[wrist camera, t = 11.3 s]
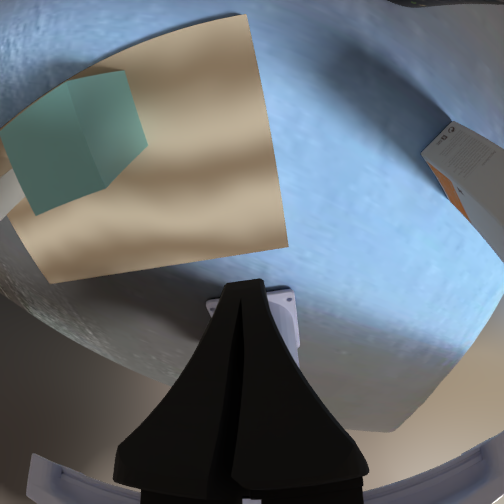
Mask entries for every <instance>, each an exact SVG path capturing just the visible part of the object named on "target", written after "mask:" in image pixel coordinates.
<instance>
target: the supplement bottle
mask: <svg viewBox="0 0 504 504" xmlns="http://www.w3.org/2000/svg"><path fill="white" fill-rule="evenodd" d="M388 1H390V2H392V3H395V4H398V5H401V6H405V7H411V8H420V7H431V6H441V5H455V4H497V5H504V0H388Z"/></svg>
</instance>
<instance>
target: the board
mask: <svg viewBox="0 0 504 504" xmlns="http://www.w3.org/2000/svg"><path fill="white" fill-rule="evenodd" d="M123 70H125V74H126V77H127V81H128V84H129V87H130V91H131V94H132V97H133V100H134V104H135V107H136V110H137V113H138V116H139V119H140V122H141V125H142V128H143V131H144V134H145V137H146V140H147V143H148V146H147V147H146V148H145V149H144V150H143V151H142V152H141V153H140V154H139V155H138V156H137V157H136V158H135V159H134V160H133V161H132V162H131V163H130V164H129V165H128V166H127V167H126V168H125V169H124V170H123V171H122V172H121V173H120V174H119V175H118V176H117V177H116V178H115V179H114V180H113V181H112V183H111V184H110V185H109V186H108V187H107V188H106V189H103V190H100V191H98V192H95V193H92V194H89V195H87V196H84V197H81V198H79V199H76V200H73V201H71V202H68V203H66V204H63V205H61V206H58V207H56V208H54V209H51V210H49V211H47V212H44V213H42V214H40V215H37V216H35V214H34V212H33V210H32V208H31V206H30V204H29V202H28V200H27V198H26V196H25V197H24V198H23V199H22V200H21V201H20V202H19V203H18V204H17V205H16V206H15V207H14V208H13V209H12V210H11V211H10V212H9V213H8V214H7V216H8V218H9V220H10V221H11V223H12V225H13V227H14V229H15V230H16V232H17V234H18V236H19V237H20V239H21V241H22V242H23V244H24V246H25V247H26V249H27V251H28V252H29V254H30V255H31V257H32V258H33V260H34V261H35V263H36V264H37V266H38V267H39V269H40V270H41V272H42V273H43V275H44V276H45V277H46V279H47V280H48V282H49V283H50V284H53V283H60V282H66V281H73V280H79V279H86V278H92V277H99V276H105V275H112V274H118V273H125V272H131V271H137V270H144V269H150V268H157V267H163V266H170V265H176V264H183V263H189V262H195V261H202V260H208V259H215V258H221V257H228V256H234V255H240V254H247V253H253V252H260V251H266V250H272V249H279V248H285V247H288V240H287V232H286V225H285V218H284V212H283V205H282V198H281V192H280V186H279V179H278V173H277V167H276V161H275V155H274V149H273V144H272V138H271V132H270V127H269V121H268V116H267V110H266V105H265V100H264V95H263V90H262V85H261V80H260V75H259V70H258V65H257V60H256V56H255V51H254V46H253V42H252V37H251V33H250V29H249V24H248V20H247V16H246V14H244V15H238V16H232V17H227V18H222V19H218V20H213V21H209V22H205V23H201V24H197V25H194V26H190V27H186V28H183V29H180V30H176V31H173V32H170V33H167V34H164V35H161V36H158V37H156V38H153V39H150V40H148V41H145V42H142V43H140V44H137V45H135V46H132V47H130V48H128V49H125V50H123V51H121V52H119V53H116V54H114V55H112V56H110V57H108V58H106V59H104V60H102V61H100V62H98V63H96V64H94V65H92V66H90V67H88V68H87V69H85V70H83V71H81V72H79V73H78V74H76V75H74V76H72V77H71V78H69V79H67V80H66V81H70V80H74V79H78V78H83V77H88V76H93V75H98V74H103V73H109V72H116V71H123ZM66 81H64V82H66ZM64 82H62V83H61V84H63V83H64ZM61 84H59V85H58V86H60V85H61ZM58 86H56V87H55V88H57V87H58ZM55 88H53V89H52V90H54V89H55ZM52 90H50V91H48V92H47V93H46V94H48V93H49V92H51V91H52ZM46 94H44V95H43V96H45V95H46ZM43 96H41V97H40V98H38V99H37V100H36V101H38V100H39V99H41V98H42V97H43ZM36 101H34V102H33V103H31V104H30V105H29V106H27V107H26V108H25V109H23V110H22V111H21V112H20V113H18V114H17V115H16V116H15V117H13V118H12V119H11V120H10V121H9V122H7V123H6V124H5V125H4V126H3V127H2V128H0V131H1V130H2V129H3V128H4V127H5V126H6V125H7V124H9V123H10V122H11V121H12V120H13V119H15V118H16V117H17V116H18V115H19V114H21V113H22V112H23V111H25V110H26V109H27V108H28V107H30V106H31V105H32V104H34V103H35V102H36ZM11 169H12V166H11V163H10V161H9V158H8V156H7V153H6V151H5V148H4V145H3V143H2V140H1V137H0V177H1V176H2V175H4V174H5V173H6V172H8V171H9V170H11Z"/></svg>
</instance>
